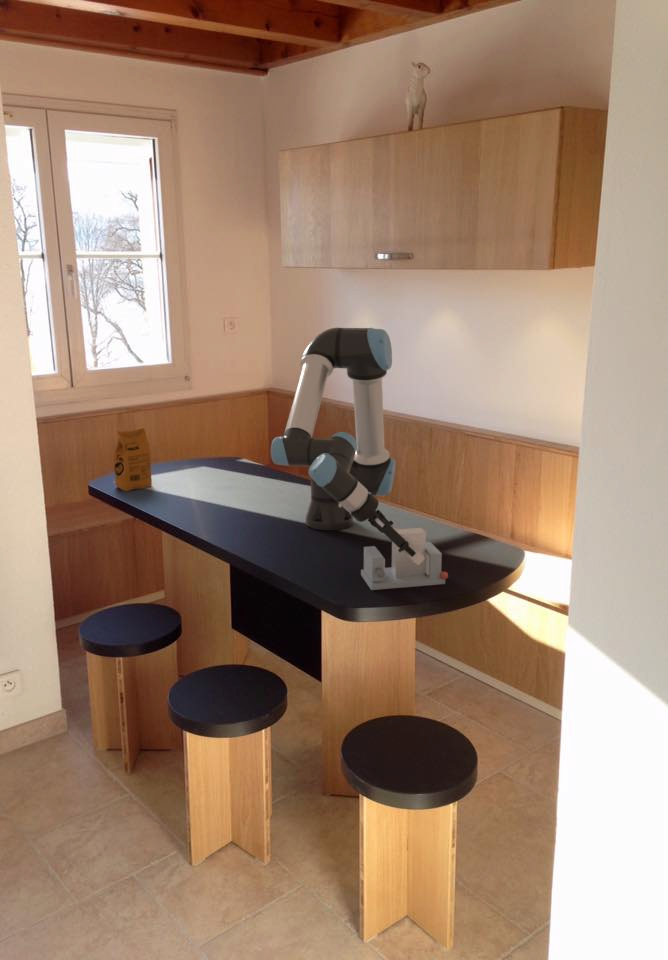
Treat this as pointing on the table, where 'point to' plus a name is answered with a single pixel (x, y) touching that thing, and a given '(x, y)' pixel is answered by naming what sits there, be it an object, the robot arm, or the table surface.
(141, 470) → the coffee package
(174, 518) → the table surface
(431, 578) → the vise
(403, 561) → the steel block
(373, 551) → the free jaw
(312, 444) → the robot arm
